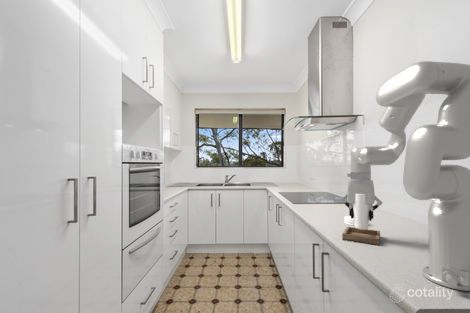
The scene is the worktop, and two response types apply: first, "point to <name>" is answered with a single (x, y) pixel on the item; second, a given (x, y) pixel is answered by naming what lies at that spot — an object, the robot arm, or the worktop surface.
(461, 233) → the robot arm
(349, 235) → the tray
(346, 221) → the white cup lid
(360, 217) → the white tall cup
